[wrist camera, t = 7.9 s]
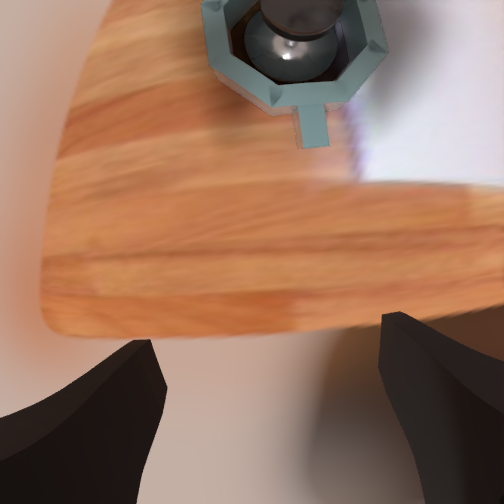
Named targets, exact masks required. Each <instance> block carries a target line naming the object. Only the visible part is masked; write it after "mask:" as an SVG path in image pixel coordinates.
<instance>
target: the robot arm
mask: <svg viewBox="0 0 504 504" xmlns="http://www.w3.org/2000/svg"><path fill="white" fill-rule="evenodd" d="M378 368H379V372H380V375H381V378H382V382H383V385H384V388H385V391H386V394H387V396H388V398H389V400H390V403H391V405H392V407H393V409H394V411H395V413H396V416H397V418H398V420H399V422H400V425H401V426H402V429H403V431H404V433H405V435H406V438H407V440H408V442H409V445H410V447H411V450H412V453H413V455H414V459H415V462H416V466H417V469H418V473H419V477H420V481H421V485H422V490H423V494H424V499H425V504H504V361H501V360H498V359H495V358H493V357H490V356H487V355H485V354H482V353H480V352H478V351H475V350H473V349H471V348H469V347H467V346H465V345H462V344H460V343H459V342H457V341H455V340H453V339H451V338H449V337H447V336H445V335H443V334H441V333H440V332H438V331H436V330H434V329H432V328H431V327H429V326H427V325H425V324H423V323H422V322H420V321H418V320H416V319H414V318H413V317H411V316H409V315H407V314H405V313H403V312H400V311H399V312H393V313H388V314H382V322H381V339H380V351H379V362H378ZM166 393H167V385H166V382H165V380H164V377H163V374H162V372H161V369H160V366H159V363H158V361H157V358H156V355H155V352H154V349H153V346H152V343H151V340H150V339H147V340H133V341H131V342H129V343H127V344H126V345H124V346H123V347H122V348H120V349H119V350H117V351H116V352H114V353H113V354H112V355H110V356H109V357H108V358H106V359H105V360H104V361H102V362H101V363H99V364H98V365H96V366H95V367H94V368H92V369H91V370H90V371H88V372H87V373H85V374H84V375H83V376H81V377H79V378H78V379H77V380H75V381H73V382H72V383H70V384H69V385H67V386H66V387H65V388H63V389H61V390H60V391H58V392H56V393H55V394H53V395H51V396H49V397H47V398H45V399H44V400H42V401H40V402H38V403H36V404H34V405H32V406H29V407H27V408H24V409H22V410H20V411H17V412H15V413H12V414H10V415H7V416H5V417H2V418H0V504H136V503H137V497H138V492H139V487H140V481H141V477H142V473H143V469H144V466H145V463H146V460H147V457H148V454H149V451H150V448H151V446H152V443H153V440H154V437H155V434H156V431H157V429H158V426H159V423H160V420H161V417H162V414H163V409H164V404H165V399H166Z"/></svg>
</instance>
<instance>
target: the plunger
mask: <svg viewBox="0 0 504 504" xmlns="http://www.w3.org/2000/svg"><path fill="white" fill-rule="evenodd" d="M260 5H261V10H259V11H258V12H257V13H256V14H255V15H254V16H253V17H252V18H251V19H250V21H249V23H248V25H247V27H246V30H245V37H244V40H245V47H246V52H247V54H248V57H249V59H250V60H251V62H252V63H253V64H254V66H255V67H256V68H257V69H258V70H259V71H261V72H262V73H263V74H265V75H266V76H268V77H270V78H272V79H275V80H278V81H282V82H288V83H299V82H305V81H309V80H312V79H314V78H316V77H318V76H320V75H321V74H322V73H324V72H325V71H326V70H327V69H328V67H329V66H330V65H331V63H332V62H333V60H334V58H335V56H336V53H337V48H338V40H337V35H336V32H335V30H334V25H335V23H336V22H337V20H338V18H339V17H340V15H341V13H342V10H343V6H344V0H260Z"/></svg>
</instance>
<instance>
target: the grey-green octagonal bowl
mask: <svg viewBox="0 0 504 504" xmlns="http://www.w3.org/2000/svg"><path fill="white" fill-rule="evenodd" d="M258 1H260V0H204V1H203V2H202V3H201V10H202V17H203V25H204V32H205V40H206V47H207V54H208V61H209V66H210V68H211V69H212V71H213V72H214V74H215V75H216V77H217V78H218V80H219V81H220V82H222V83H223V84H225V85H226V86H228V87H229V88H231V89H232V90H234V91H235V92H237V93H238V94H240V95H241V96H243V97H244V98H246V99H247V100H248V101H250V102H251V103H253V104H254V105H256V106H257V107H258V108H260V109H261V110H263V111H264V112H265V113H267V114H268V115H270V116H275V115H284V114H292V116H293V123H294V130H295V137H296V144H297V149H305V148H315V147H326V146H330V144H329V136H328V129H327V121H326V114H325V111H333V110H335V109H336V108H338V107H340V106H342V105H344V104H345V103H347V102H349V101H350V99H351V98H352V97H353V96H354V94H355V93H356V92H357V91H358V90H359V88H360V87H361V86H362V85H363V83H364V82H365V81H366V80H367V79H368V77H369V76H370V75H371V74H372V72H373V71H374V70H375V69H376V68H377V66H378V65H379V64H380V63H381V62H382V60H383V59H384V58H385V57H386V55H387V54H388V48H387V44H386V39H385V35H384V31H383V27H382V23H381V19H380V15H379V12H378V8H377V5H376V1H375V0H344V6H343V10H342V13H341V15H340V17H339V18H338V21H339V22H341V25H342V29H343V33H344V38H345V43H346V47H347V52H348V57H349V63H348V64H347V66H346V67H345V68H344V69H343V70H342V72H341V73H340V74H339V75H338V76H337V77H336V79H335V80H334V81H330V82H312V83H299V84H287V85H277V84H275V83H274V82H272V81H271V80H270V79H268V78H267V77H265V76H264V75H262V74H261V73H259V72H258V71H256V70H255V69H253V68H252V67H250V66H249V65H247V64H246V63H244V62H243V61H241V60H239V59H238V58H236V57H235V56H234V52H233V46H232V39H231V33H230V31H231V30H232V28H233V27H234V26H235V25H236V24H237V23H238V22H239V21H240V20H241V19H242V18H243V16H244V15H245V14H246V13H247V12H248V11H249V10H250V9H251V8H252V7H253V6H254V5H255V4H256V3H257V2H258Z"/></svg>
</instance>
